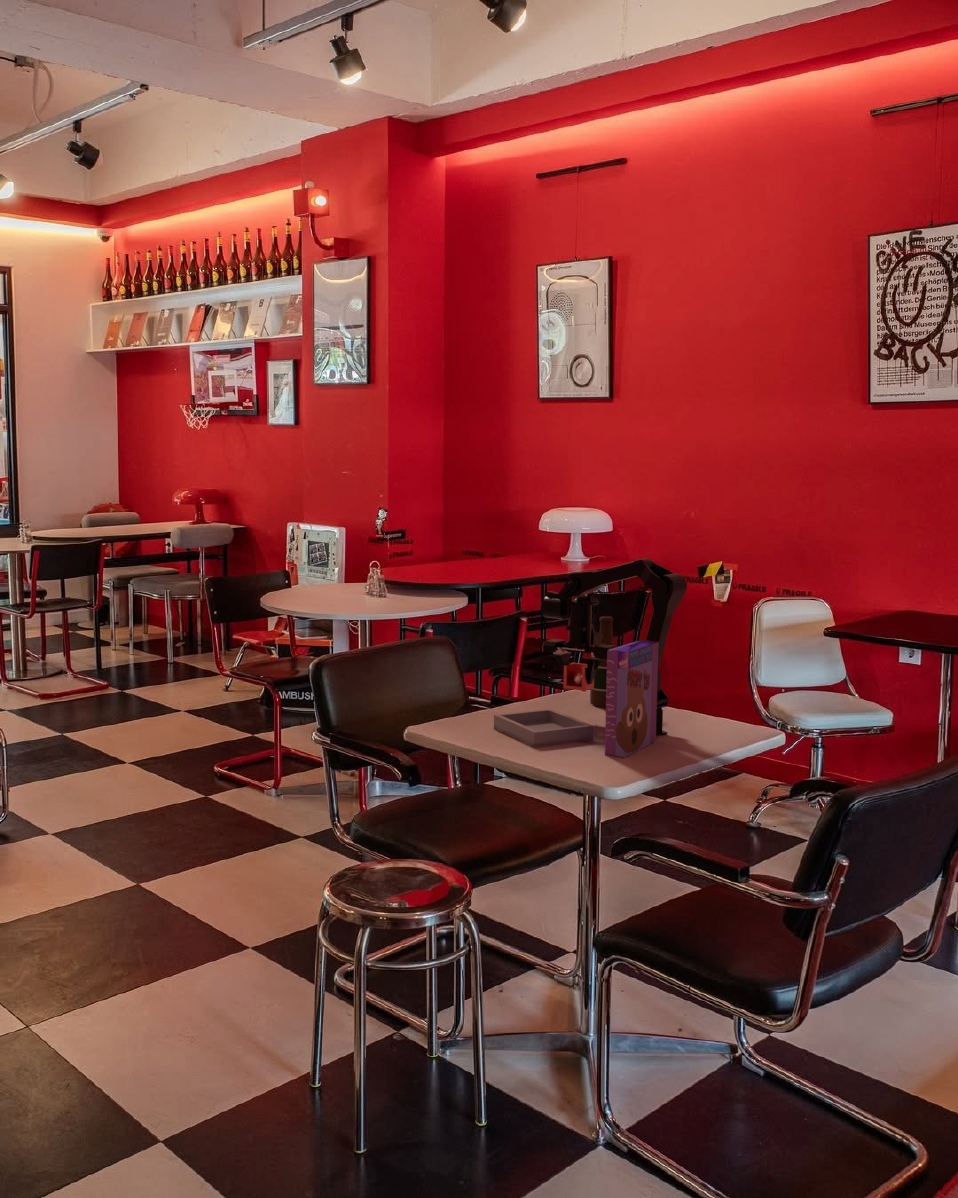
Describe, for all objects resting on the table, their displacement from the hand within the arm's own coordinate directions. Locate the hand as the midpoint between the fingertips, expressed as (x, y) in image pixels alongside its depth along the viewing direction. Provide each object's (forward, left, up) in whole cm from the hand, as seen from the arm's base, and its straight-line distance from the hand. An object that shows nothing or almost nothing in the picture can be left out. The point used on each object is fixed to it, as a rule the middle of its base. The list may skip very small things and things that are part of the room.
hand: (578, 682), depth 284 cm
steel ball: (0, 0, +1) cm, 1 cm away
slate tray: (-9, +16, -10) cm, 20 cm away
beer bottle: (+13, -16, -10) cm, 23 cm away
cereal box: (-29, +4, -10) cm, 31 cm away
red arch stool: (0, 0, -2) cm, 2 cm away
